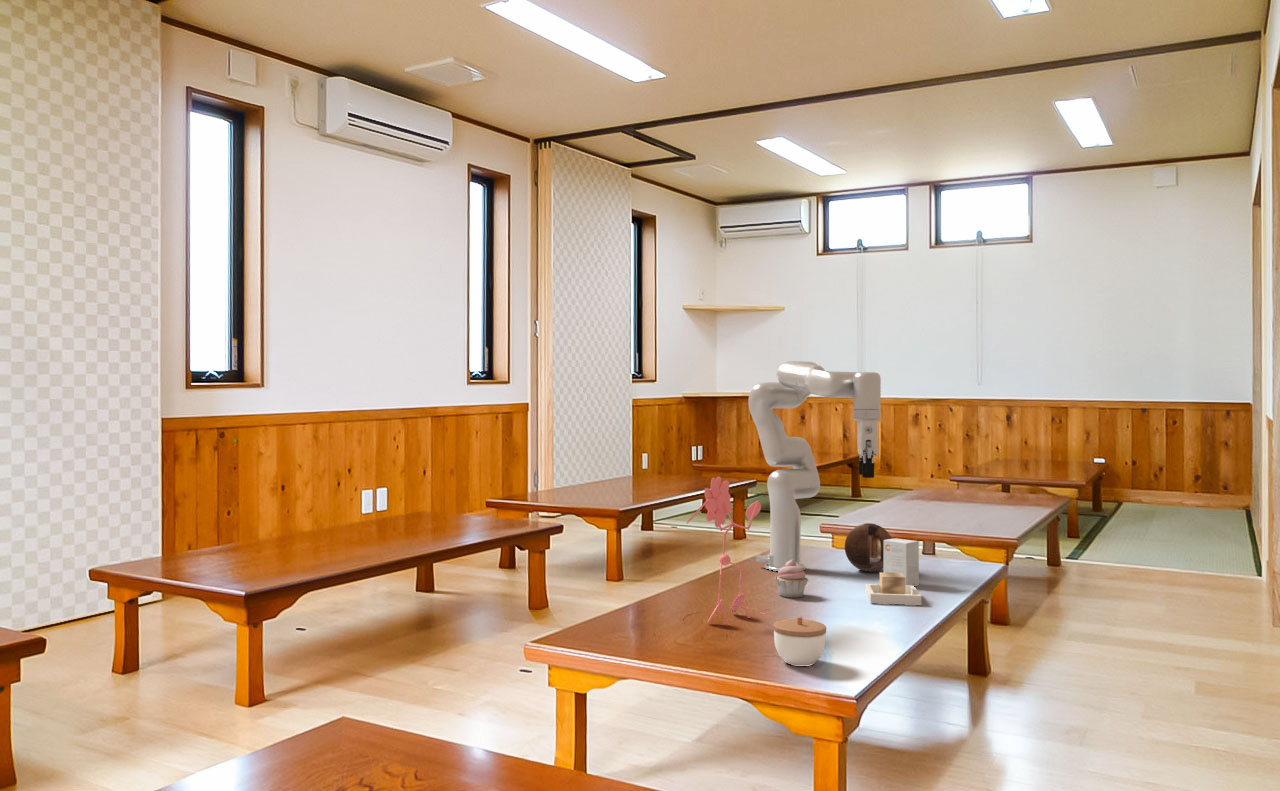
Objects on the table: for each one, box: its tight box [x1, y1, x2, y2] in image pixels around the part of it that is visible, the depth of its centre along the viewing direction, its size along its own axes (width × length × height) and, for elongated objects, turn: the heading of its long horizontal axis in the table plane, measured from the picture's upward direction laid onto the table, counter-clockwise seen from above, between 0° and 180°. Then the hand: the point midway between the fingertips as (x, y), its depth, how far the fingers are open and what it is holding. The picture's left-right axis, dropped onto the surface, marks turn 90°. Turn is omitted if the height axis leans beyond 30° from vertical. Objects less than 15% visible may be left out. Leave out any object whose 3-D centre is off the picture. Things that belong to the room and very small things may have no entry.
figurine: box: [686, 476, 766, 626], centre depth 227 cm, size 15×26×35 cm, turn 141°
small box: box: [882, 538, 920, 587], centre depth 268 cm, size 8×6×13 cm
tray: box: [864, 583, 922, 606], centre depth 249 cm, size 13×13×3 cm
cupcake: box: [774, 560, 809, 599], centre depth 253 cm, size 9×9×10 cm
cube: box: [879, 571, 905, 594], centre depth 249 cm, size 6×6×6 cm
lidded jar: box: [773, 616, 827, 665], centre depth 190 cm, size 11×11×9 cm
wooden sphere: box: [844, 522, 893, 573], centre depth 289 cm, size 15×15×15 cm
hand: (866, 476), depth 261 cm, fingers open, 9 cm apart
